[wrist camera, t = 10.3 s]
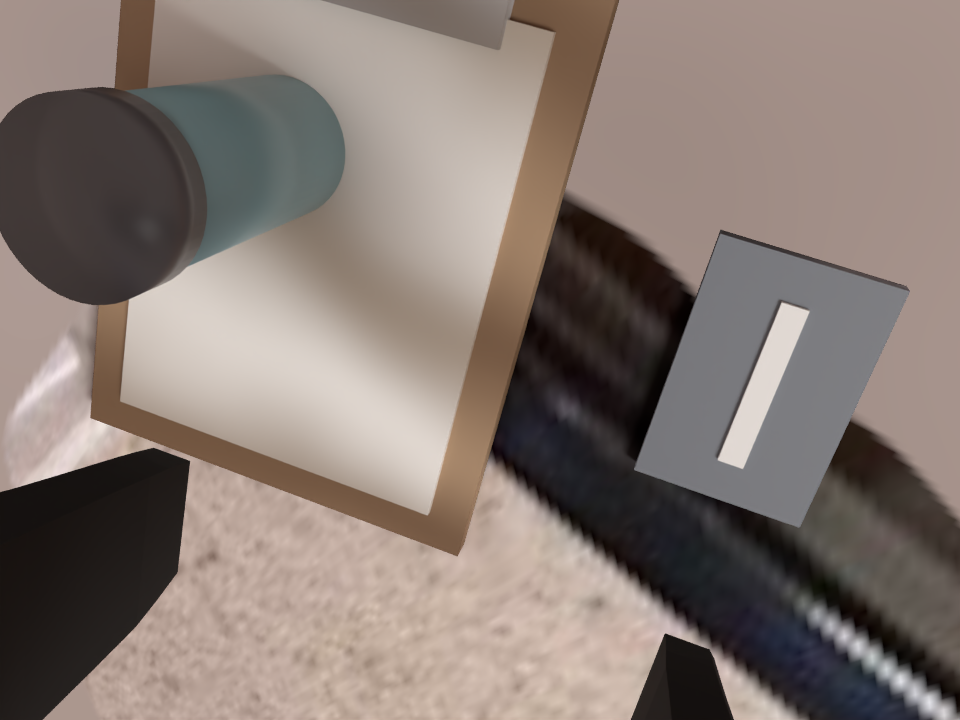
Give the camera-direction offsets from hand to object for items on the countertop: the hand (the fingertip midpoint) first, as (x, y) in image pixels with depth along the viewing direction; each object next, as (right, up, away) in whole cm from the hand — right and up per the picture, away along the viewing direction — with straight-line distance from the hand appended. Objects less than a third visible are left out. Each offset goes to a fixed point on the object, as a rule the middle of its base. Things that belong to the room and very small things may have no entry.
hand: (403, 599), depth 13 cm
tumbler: (-4, +8, +8) cm, 12 cm away
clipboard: (-3, +6, +9) cm, 12 cm away
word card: (+7, +3, +8) cm, 11 cm away
